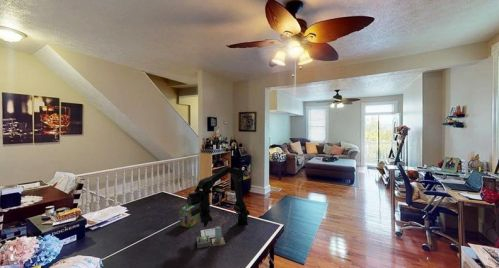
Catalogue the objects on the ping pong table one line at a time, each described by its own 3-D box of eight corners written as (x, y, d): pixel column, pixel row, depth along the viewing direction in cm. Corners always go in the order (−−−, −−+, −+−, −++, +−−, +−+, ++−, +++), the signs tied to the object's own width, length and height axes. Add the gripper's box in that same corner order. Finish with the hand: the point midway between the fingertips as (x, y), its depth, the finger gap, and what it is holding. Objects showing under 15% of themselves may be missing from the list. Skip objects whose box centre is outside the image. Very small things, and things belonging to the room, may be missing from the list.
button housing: (208, 239, 122) (208, 235, 122) (210, 245, 115) (210, 241, 115) (196, 241, 119) (196, 237, 119) (197, 248, 113) (197, 243, 113)
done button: (206, 240, 120) (206, 235, 120) (207, 244, 116) (207, 239, 116) (199, 241, 118) (199, 236, 118) (200, 245, 115) (200, 240, 115)
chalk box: (189, 228, 135) (189, 206, 134) (179, 225, 138) (178, 204, 137) (198, 222, 143) (198, 201, 142) (188, 219, 147) (187, 199, 146)
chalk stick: (220, 239, 121) (220, 226, 121) (221, 242, 118) (221, 229, 117) (214, 240, 120) (214, 227, 119) (215, 243, 117) (215, 230, 116)
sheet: (219, 228, 135) (219, 227, 134) (221, 236, 125) (221, 235, 125) (200, 231, 131) (200, 230, 131) (201, 239, 121) (201, 238, 121)
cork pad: (223, 237, 123) (223, 237, 123) (225, 244, 117) (225, 243, 117) (211, 239, 121) (211, 239, 121) (213, 246, 114) (213, 245, 114)
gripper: (190, 197, 126) (190, 221, 127) (191, 209, 109) (192, 237, 110) (208, 195, 130) (208, 219, 131) (212, 206, 112) (212, 233, 113)
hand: (205, 226), depth 121 cm, fingers closed
